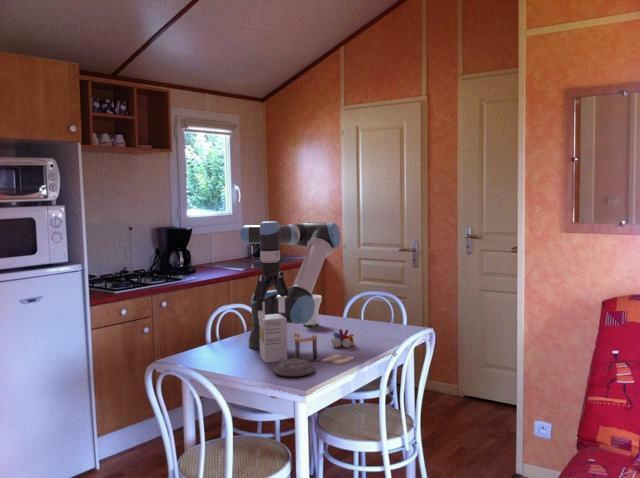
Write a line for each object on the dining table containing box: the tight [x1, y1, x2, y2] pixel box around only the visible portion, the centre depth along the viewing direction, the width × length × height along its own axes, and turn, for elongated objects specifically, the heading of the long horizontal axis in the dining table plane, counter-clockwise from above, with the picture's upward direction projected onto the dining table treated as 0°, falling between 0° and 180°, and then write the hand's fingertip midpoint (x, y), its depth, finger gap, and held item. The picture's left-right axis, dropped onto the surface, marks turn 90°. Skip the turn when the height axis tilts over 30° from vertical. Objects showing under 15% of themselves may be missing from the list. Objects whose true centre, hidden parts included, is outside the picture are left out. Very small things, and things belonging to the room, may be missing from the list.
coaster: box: [321, 353, 355, 366], centre depth 235 cm, size 9×9×1 cm
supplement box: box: [259, 314, 288, 363], centre depth 239 cm, size 10×9×17 cm
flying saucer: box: [273, 357, 316, 378], centre depth 220 cm, size 15×15×6 cm
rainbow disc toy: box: [330, 328, 355, 349], centre depth 256 cm, size 8×10×7 cm
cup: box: [303, 294, 323, 328], centre depth 297 cm, size 11×11×14 cm
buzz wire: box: [292, 332, 321, 363], centre depth 235 cm, size 12×10×10 cm
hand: (271, 315), depth 238 cm, fingers open, 13 cm apart
